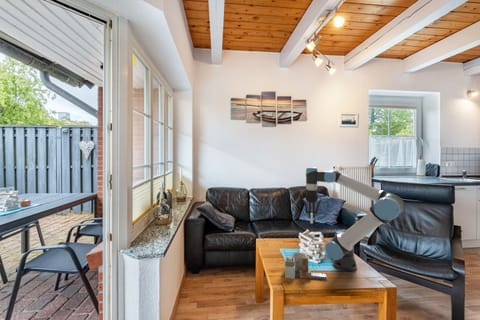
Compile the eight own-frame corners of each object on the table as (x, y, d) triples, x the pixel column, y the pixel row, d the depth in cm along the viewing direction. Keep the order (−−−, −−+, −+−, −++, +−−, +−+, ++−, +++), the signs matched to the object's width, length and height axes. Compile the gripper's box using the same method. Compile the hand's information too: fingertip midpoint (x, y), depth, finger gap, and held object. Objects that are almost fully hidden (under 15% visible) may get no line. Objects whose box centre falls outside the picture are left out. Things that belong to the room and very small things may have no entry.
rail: (325, 276, 144) (325, 274, 144) (326, 279, 140) (326, 277, 140) (294, 273, 148) (294, 270, 148) (294, 276, 144) (294, 273, 144)
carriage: (310, 273, 147) (310, 255, 147) (311, 278, 141) (311, 260, 141) (299, 272, 149) (299, 254, 148) (299, 277, 143) (299, 259, 142)
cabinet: (294, 271, 151) (294, 256, 150) (294, 278, 142) (294, 263, 142) (285, 270, 152) (285, 255, 152) (285, 277, 143) (285, 262, 143)
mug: (306, 273, 148) (306, 258, 148) (286, 271, 150) (286, 256, 150) (305, 267, 156) (305, 252, 156) (286, 265, 159) (286, 251, 158)
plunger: (292, 262, 148) (292, 257, 148) (292, 264, 145) (292, 259, 145) (287, 261, 148) (287, 257, 148) (287, 263, 146) (287, 259, 146)
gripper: (320, 188, 162) (320, 221, 162) (301, 188, 164) (301, 220, 165) (322, 190, 154) (322, 225, 155) (302, 190, 157) (302, 223, 158)
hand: (311, 222), depth 160 cm, fingers closed
